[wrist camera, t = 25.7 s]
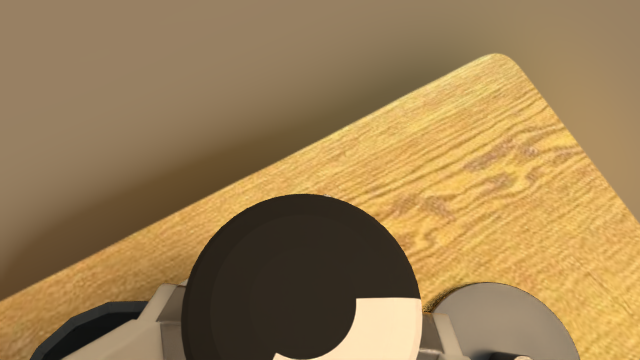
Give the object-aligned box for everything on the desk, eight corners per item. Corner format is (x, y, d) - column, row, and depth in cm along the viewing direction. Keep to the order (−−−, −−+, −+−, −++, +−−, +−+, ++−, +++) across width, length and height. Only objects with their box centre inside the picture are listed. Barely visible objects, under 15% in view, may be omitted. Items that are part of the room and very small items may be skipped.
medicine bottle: (209, 309, 20) (96, 259, 9) (320, 236, 22) (338, 121, 11) (281, 442, 18) (246, 591, 7) (398, 347, 19) (520, 343, 9)
